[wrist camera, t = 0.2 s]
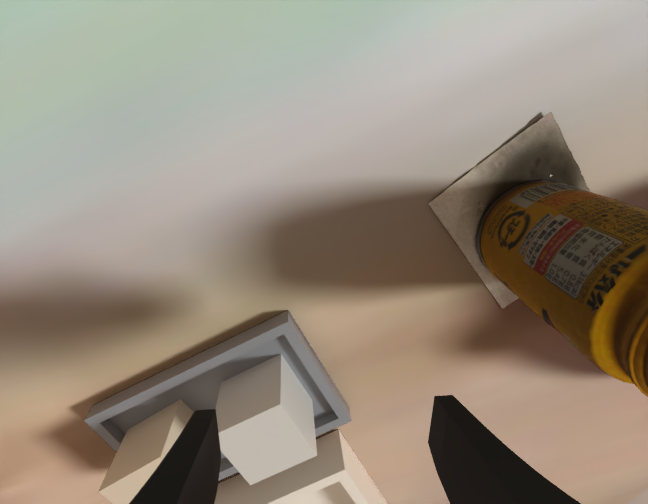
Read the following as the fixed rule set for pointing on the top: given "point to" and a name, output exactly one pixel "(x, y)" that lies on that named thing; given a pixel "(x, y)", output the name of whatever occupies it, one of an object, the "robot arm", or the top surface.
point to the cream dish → (309, 480)
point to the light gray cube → (265, 420)
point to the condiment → (557, 247)
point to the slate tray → (215, 367)
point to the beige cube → (143, 452)
